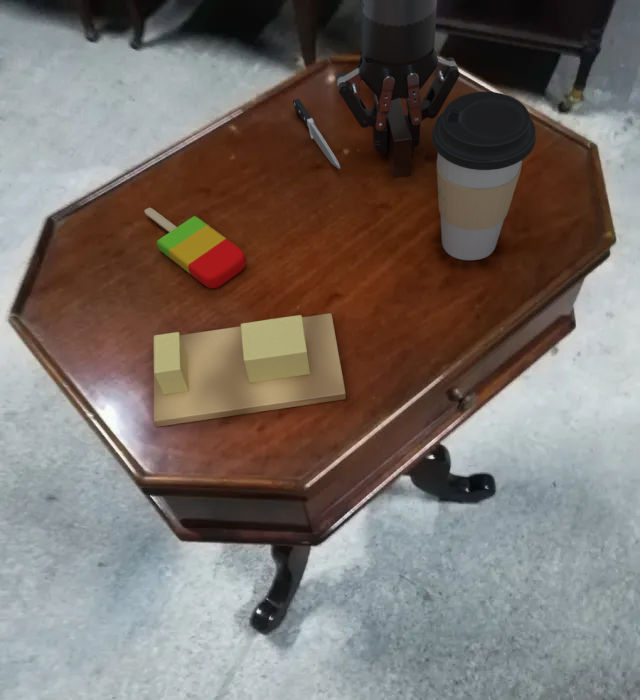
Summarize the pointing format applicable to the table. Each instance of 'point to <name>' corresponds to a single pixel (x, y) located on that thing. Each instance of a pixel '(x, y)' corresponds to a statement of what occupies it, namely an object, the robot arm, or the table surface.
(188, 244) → the popsicle
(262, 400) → the board
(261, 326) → the butter stick
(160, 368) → the butter pat
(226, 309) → the table surface
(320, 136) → the knife
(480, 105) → the coffee cup
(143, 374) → the table surface
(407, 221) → the table surface
